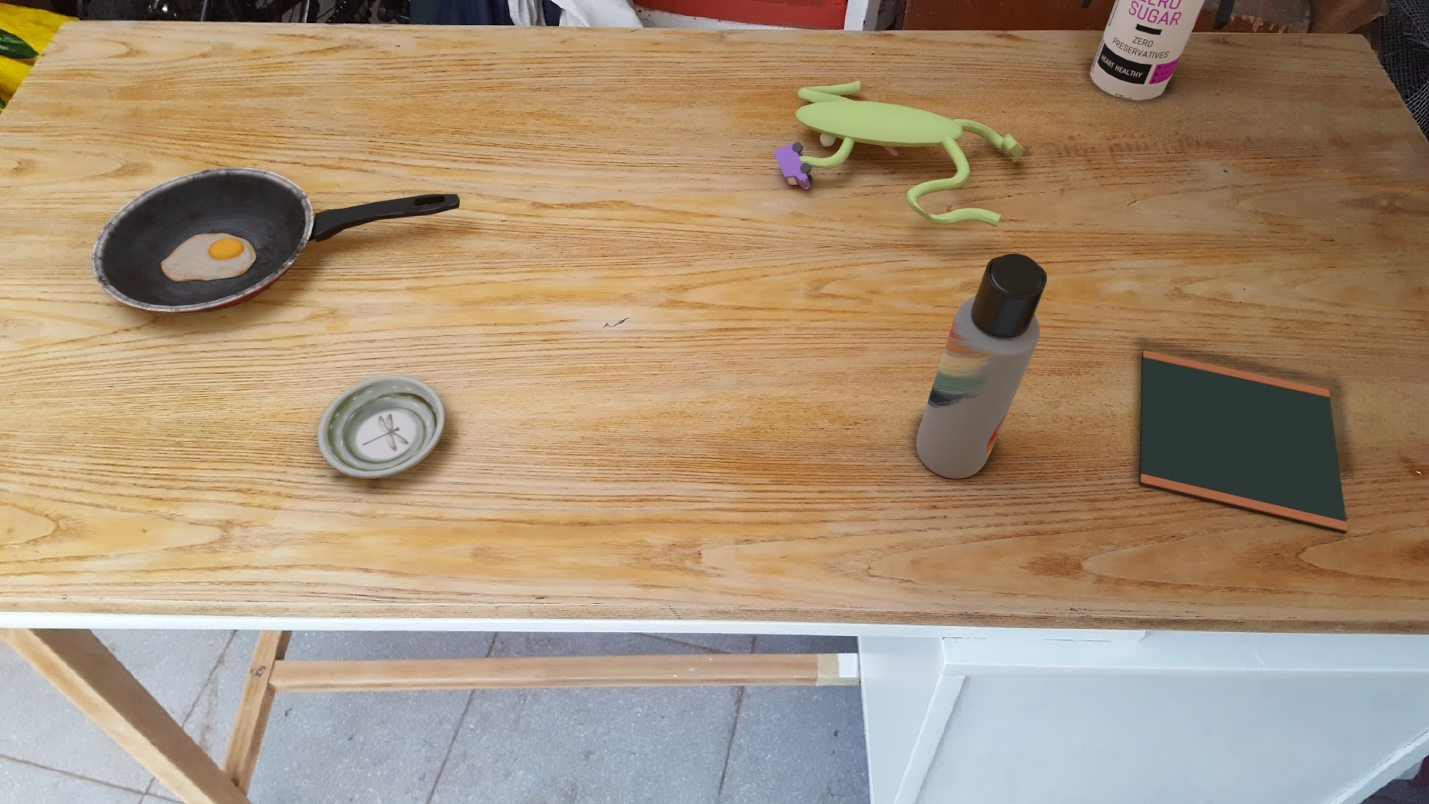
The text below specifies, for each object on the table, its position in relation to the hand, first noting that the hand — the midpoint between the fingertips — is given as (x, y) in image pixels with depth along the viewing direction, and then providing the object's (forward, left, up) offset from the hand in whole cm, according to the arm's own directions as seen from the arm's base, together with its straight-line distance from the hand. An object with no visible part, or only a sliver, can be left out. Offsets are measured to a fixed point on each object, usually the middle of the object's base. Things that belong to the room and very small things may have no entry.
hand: (1152, 15), depth 99 cm
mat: (-10, +47, -8) cm, 49 cm away
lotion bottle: (+12, +55, -9) cm, 57 cm away
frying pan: (+74, +50, -9) cm, 90 cm away
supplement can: (0, 0, -9) cm, 9 cm away
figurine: (+22, +22, -9) cm, 32 cm away
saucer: (+55, +67, -9) cm, 87 cm away
